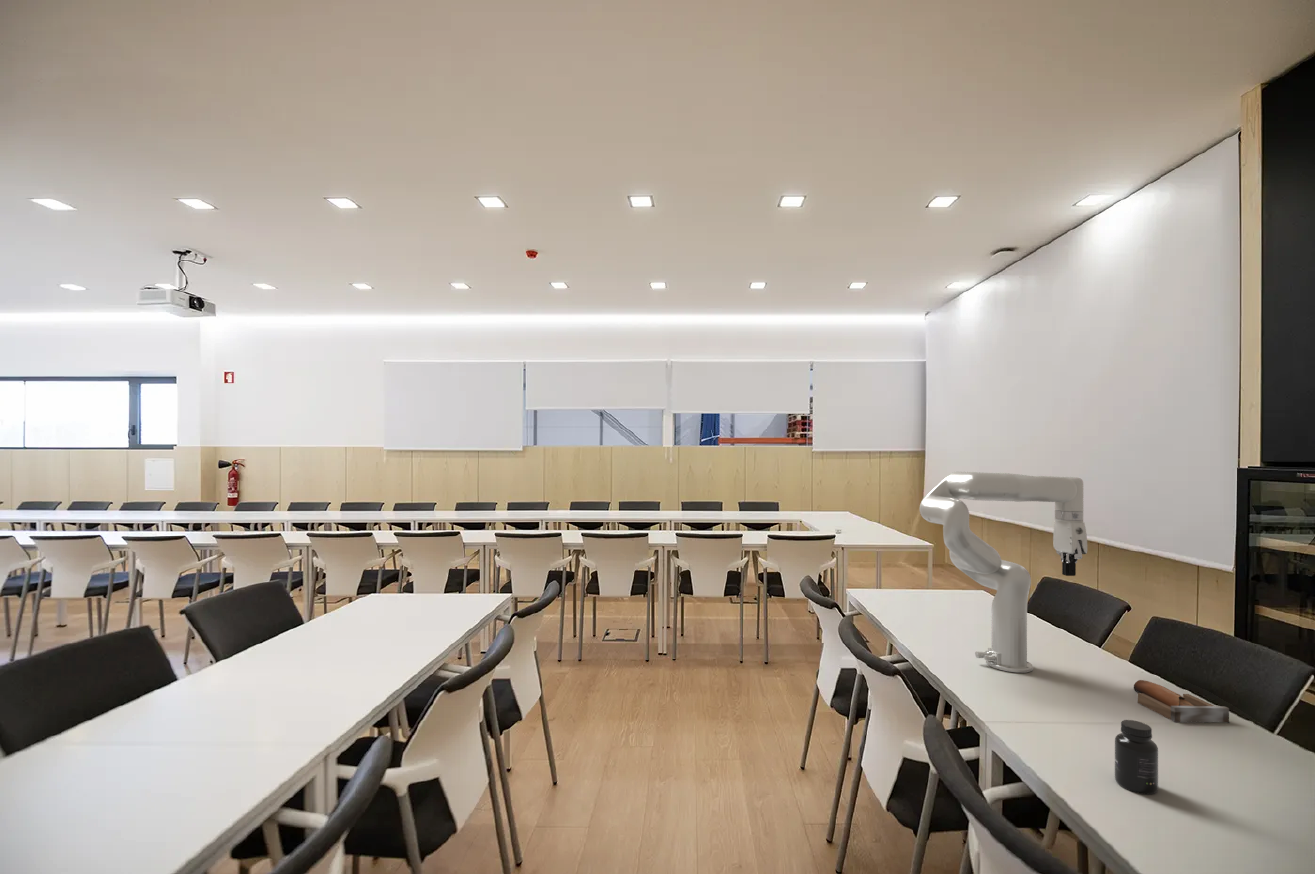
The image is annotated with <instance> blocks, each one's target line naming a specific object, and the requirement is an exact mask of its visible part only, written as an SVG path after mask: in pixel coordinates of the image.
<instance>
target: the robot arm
mask: <svg viewBox="0 0 1315 874" xmlns="http://www.w3.org/2000/svg"><path fill="white" fill-rule="evenodd" d="M960 499H962V500H968V501H983V502H984V501H989V502H990V501H992V502H993V501H997V502H1019V503H1020V502H1043V503H1044V502H1045V503H1054V524H1053V535H1052V542H1053V543H1052V544H1053V545H1052V546H1053V549H1055V553H1056V554H1057V555H1059V557H1060V561H1061V562H1062V563H1061V567H1062V569H1061V573H1062V576H1066V577H1076V576H1077V575H1076V573H1077V571H1076V568H1077V567H1076V564H1077V563H1078V560H1082V559H1083V555H1086V554H1088V536H1087V528H1086V524H1085V522H1084V480H1083V479H1082V478H1079V477H1074V476H1051V475H1050V476H1048V475H1040V476H1039V475H1036V476H1035V475H1027V474H1019V473H1007V472H1004V473H1003V472H1002V473H1001V472H976V471H975V472H974V471H972V472H971V471H954V472H952V473H950V474H948V475H947V476H946V477H944V478H943V479H942V480H941V481H940V482H939V483H938V484H936V486H935V487H933V488H932V490H930V491H928V493H927V494H926V495H925V497H923V498H922V500H921V502H920V504H919V513H920V516H921V517H922V519H924V520H926V522H928V523H932V524H938V525H942V526H943V527H942V534H943V535H942V536H943V543H944V545H945V547H946V548H947V549H948V550H949V551H948V552H949V559H950V561H951V563H952V564H953V565H954V566H955V568H957V569H958V570H959V571H961V572H962V573H963V574H964V575H966V576H968V578H970V579H972V580H973V581H974V582H976V583H978V584H979V585H981V586H982V587H983V586H984V587H986V588H989V589H991V590H995V591H996V593H995V595H994V597H993V600H992V602H991V644H990V645H991V647H988V648H987V650H985V651H975V653H974V654H975V658H976V659H983V660H985V663H986V665H988V666H989V667H991V668H994V669H996V670H1000V671H1005V672H1008V673H1009V672H1010V673H1022V674H1024V673H1030V672H1032V671H1033V670H1034V665H1033V664H1032V663H1031V662H1029V661H1028V600H1029V593H1030V589H1031V585H1032V578H1031V577H1032V576H1031V575H1030V572H1029V571H1028V570H1027V569H1026V567H1024V566H1023V565H1021V564H1019V563H1016V562H1013V561H1009V560H1005V559H1002V557H1001V555H1000V553H999V551H998V550H996V549H995V548H994V547H993V546H991V545H990V544H989V543H987V542H986V541H984V540H983V538H980V537H979V536H978V535H977V534H975V532H973V531H972V530H971V528H970V510H969V507H968V506H967V505H966V503H964V502H963V501H962V500H960Z"/></svg>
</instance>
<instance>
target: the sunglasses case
mask: <svg viewBox="0 0 1315 874" xmlns="http://www.w3.org/2000/svg"><path fill="white" fill-rule="evenodd" d="M1133 690H1134V692H1137V693H1143V694H1145V695H1147V696H1149V697H1152V698H1154V699H1156V700H1158V701H1160V702H1162V703H1164V704H1166V705H1168V706H1170V707H1171V706H1194V705H1192V704H1191V703H1189V702H1188V701H1186V700H1184V699H1185V698H1184V697H1183V695H1181V694H1179V693H1177V692H1175V691H1173V690H1171V689H1169V688H1166V687H1164V686H1162V685H1160V684H1158V683H1155V682H1152V681H1149V680H1145V679H1139V680H1137V681H1136V682H1135V683H1134V684H1133Z"/></svg>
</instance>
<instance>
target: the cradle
mask: <svg viewBox="0 0 1315 874" xmlns="http://www.w3.org/2000/svg"><path fill="white" fill-rule="evenodd" d="M1182 697H1184V698H1185V699H1184V700H1186V701H1188V702H1189V703H1191V704H1192V705H1194V706H1171V707H1170V706H1168V705H1166V704H1164V703H1162V702H1160V701H1158V700H1156V699H1154V698H1152V697H1149V696H1147V695H1145V694H1143V693H1139V692H1137V703H1138V704H1139V705H1141V706H1143V707H1145V708H1147V709H1149V710H1151V711H1152V712H1154V713H1156V714H1159V715H1160V716H1162V717H1164V718H1166V719H1168V720H1170V721H1172V722H1174V723H1204V722H1229V723H1230V708H1229V707H1227V706H1223V705H1218V706H1217V705H1215V704H1212V703H1209V702H1207V701H1205V700H1202V699H1201V698H1199V697H1196V696H1194V695H1192V694H1189V693H1182Z"/></svg>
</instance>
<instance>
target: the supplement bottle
mask: <svg viewBox="0 0 1315 874" xmlns="http://www.w3.org/2000/svg"><path fill="white" fill-rule="evenodd" d="M1152 730H1153V729H1152V727H1151V726H1150V725H1148V724H1147V723H1144V722H1142V721H1137V720H1133V719H1123V720H1121V722H1120V733H1119V734H1116V736H1115V737H1114V780H1115V782H1116V783H1117V785H1119V786H1120V787H1121V788H1123V789H1126V790H1127V791H1130V792H1133V793H1136V794H1141V795H1155V794H1156V793H1157V792H1158V791H1159V747H1158V746H1157V744H1156V743H1155V741H1153V740H1152V739H1153V734H1152Z"/></svg>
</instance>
